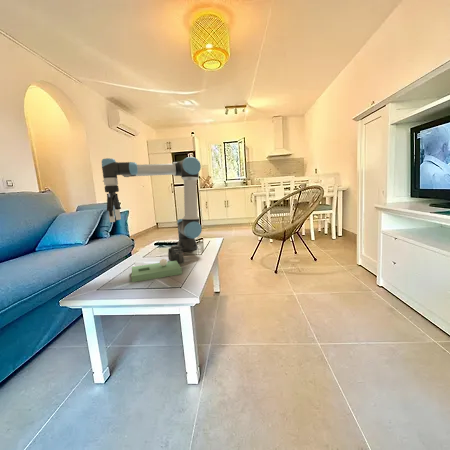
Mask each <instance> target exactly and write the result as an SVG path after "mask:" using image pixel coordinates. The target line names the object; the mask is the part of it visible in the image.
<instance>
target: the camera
mask: <svg viewBox="0 0 450 450" xmlns="http://www.w3.org/2000/svg"><path fill="white" fill-rule="evenodd" d="M181 249H182V246H177V245H171V246H170V248H168V253H167V255H168V256H167V257H168V260H169V261H177V262H178V264H179V265H181V264H184V254H185V251H182V250H181Z"/></svg>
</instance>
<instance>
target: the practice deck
mask: <svg viewBox="0 0 450 450" xmlns="http://www.w3.org/2000/svg"><path fill="white" fill-rule="evenodd" d="M180 265H181V264H178V262H177V261H170V260H169V261H167V265H166V266H164V267H162V266H161V265H160V262H157V263H150V264H142V265H135V266H132V267H131V283H136V282H143V281H147V280H148V281H149V280H153V279H155V280H156V279H160V278H164V277H165V278H167V277H171V276H172V277H173V276H178V275H183V270H182V267H181V266H180Z"/></svg>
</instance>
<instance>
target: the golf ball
mask: <svg viewBox="0 0 450 450" xmlns="http://www.w3.org/2000/svg"><path fill="white" fill-rule="evenodd" d="M167 262H168V261H167V259H165V258H162V259H160V260H159V263H160V265H161V266H162V267H164V266H166V265H167Z"/></svg>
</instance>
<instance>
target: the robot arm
mask: <svg viewBox="0 0 450 450" xmlns="http://www.w3.org/2000/svg"><path fill="white" fill-rule="evenodd" d="M201 165H202V164H201V162H200V161H199V160H198V158H196V157H193V156H188V157H185V158H184V159H182V160H180V161H172V163H153V164H152V163H148V164H145V163H144V164H137V162H134V161H127V162H124V161H123V162H122V161H121V162H119V161H118V162H117V161H116V159H115V158H108V157H107V158H103V159H102V160H101V169H102V170H101V171H102V178H103V180H102V182H103V183H104V184H103V185H104V192H105V193H106V211H107V212H108V217H109V218H108V219H109V223H115V222H116V221H120V220H122V217H121V210H122V207H121V205H120V201H119V200H120V199H119V195H118V192H119V191H120V189H119V180H118V176H122V177H124V178H129V177H148V176H150V177H151V176H170V175H172V176H173V177H181V179H182V180H183V197H184V198H183V207H184V215H183V217H182V218H178V219H177V221H176V224H177V233H178V242H177V245H176V246H182V249H181V250H182V251H183V252H190V251H191V250H192V251H196V250H197V249H198V248H199V247H198V243H197V240H196V239H197V238H199V236H201V234H202V230H203V229H202V225H201V224H200V217H199V215H198V195H197V194H198V193H197V192H198V188H197V186H198V183H197V182H198V181H197V180H199V178H200V170H201V167H202V166H201ZM195 249H196V250H195ZM192 251H191V252H192Z"/></svg>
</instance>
